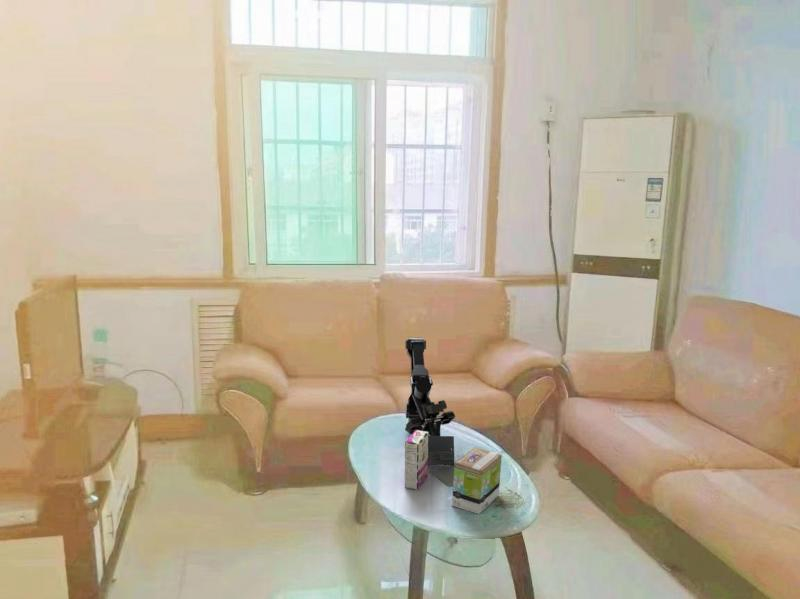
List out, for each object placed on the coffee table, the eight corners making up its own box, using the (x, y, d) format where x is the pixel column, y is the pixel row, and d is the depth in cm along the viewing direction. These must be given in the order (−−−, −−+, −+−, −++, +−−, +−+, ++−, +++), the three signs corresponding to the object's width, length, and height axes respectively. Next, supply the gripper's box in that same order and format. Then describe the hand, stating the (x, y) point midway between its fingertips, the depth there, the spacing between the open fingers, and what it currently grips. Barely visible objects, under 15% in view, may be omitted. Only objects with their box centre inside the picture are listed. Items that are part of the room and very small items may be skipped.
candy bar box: (414, 473, 216) (415, 429, 213) (428, 476, 214) (429, 431, 211) (403, 487, 205) (404, 441, 202) (417, 490, 204) (419, 443, 201)
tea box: (480, 515, 189) (482, 470, 187) (451, 506, 194) (452, 462, 192) (499, 495, 202) (502, 453, 199) (471, 487, 207) (473, 445, 204)
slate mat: (429, 472, 217) (429, 471, 217) (465, 462, 225) (465, 461, 225) (449, 486, 207) (449, 485, 207) (486, 475, 215) (486, 475, 215)
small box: (454, 449, 226) (454, 435, 218) (454, 466, 222) (454, 452, 214) (425, 449, 227) (424, 434, 219) (424, 465, 222) (423, 451, 215)
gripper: (410, 397, 221) (426, 437, 214) (453, 390, 231) (470, 428, 223) (399, 411, 229) (414, 450, 222) (440, 404, 239) (456, 441, 231)
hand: (439, 442), depth 224 cm, fingers closed
